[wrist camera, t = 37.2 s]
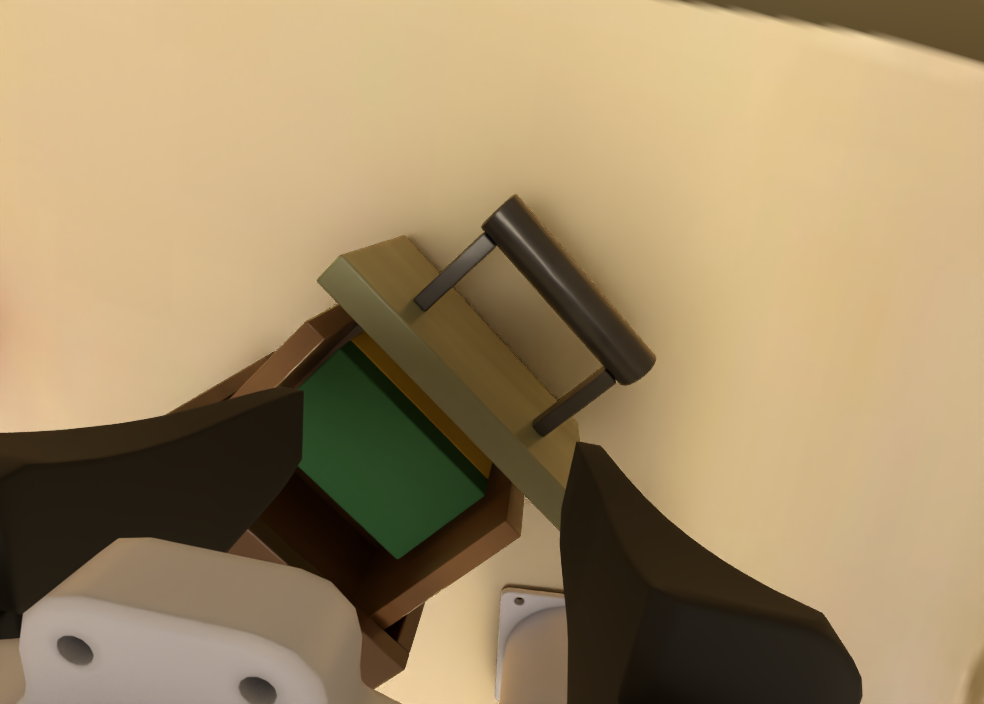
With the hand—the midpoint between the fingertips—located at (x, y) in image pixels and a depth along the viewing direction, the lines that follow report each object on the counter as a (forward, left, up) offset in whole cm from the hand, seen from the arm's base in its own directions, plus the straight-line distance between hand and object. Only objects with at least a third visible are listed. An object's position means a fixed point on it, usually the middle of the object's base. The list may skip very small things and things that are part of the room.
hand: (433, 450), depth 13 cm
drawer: (+2, +2, -10) cm, 10 cm away
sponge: (+3, +3, -8) cm, 10 cm away
